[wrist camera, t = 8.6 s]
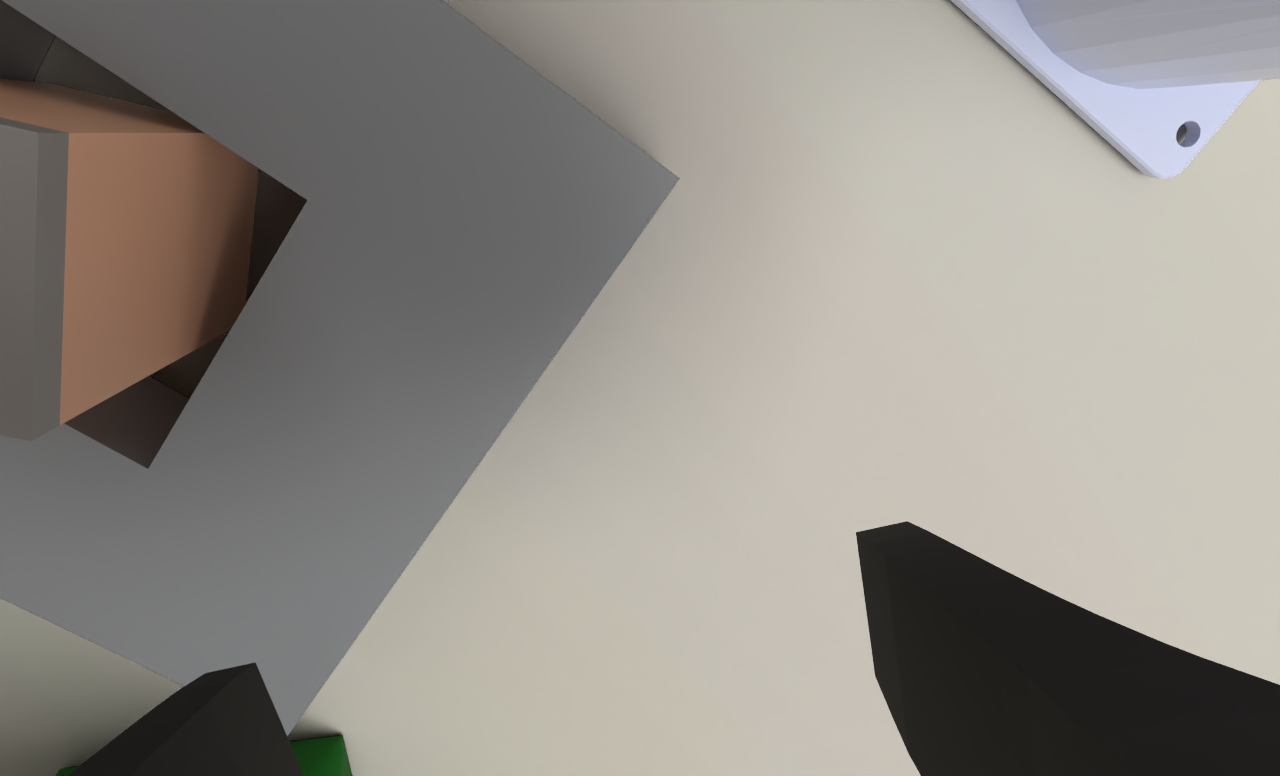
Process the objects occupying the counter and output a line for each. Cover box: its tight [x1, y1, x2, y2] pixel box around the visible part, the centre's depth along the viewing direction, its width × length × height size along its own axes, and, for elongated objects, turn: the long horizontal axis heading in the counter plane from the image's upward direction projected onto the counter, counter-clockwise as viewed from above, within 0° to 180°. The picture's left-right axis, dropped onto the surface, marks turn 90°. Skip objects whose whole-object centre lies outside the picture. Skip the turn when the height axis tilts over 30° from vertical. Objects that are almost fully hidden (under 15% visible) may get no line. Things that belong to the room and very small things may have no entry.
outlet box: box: [0, 0, 680, 736], centre depth 15 cm, size 14×16×3 cm
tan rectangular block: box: [0, 79, 259, 441], centre depth 13 cm, size 4×4×7 cm
